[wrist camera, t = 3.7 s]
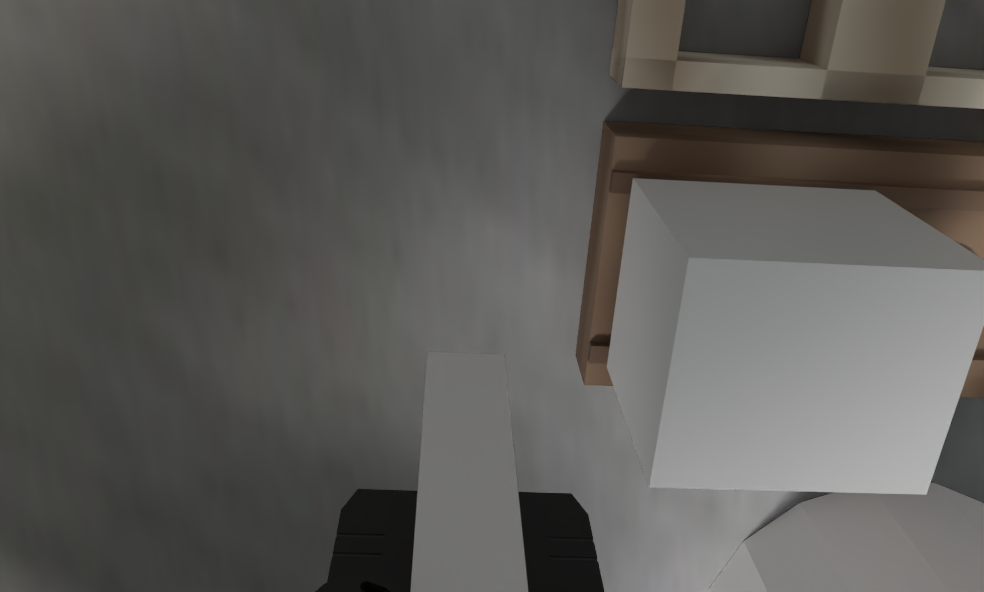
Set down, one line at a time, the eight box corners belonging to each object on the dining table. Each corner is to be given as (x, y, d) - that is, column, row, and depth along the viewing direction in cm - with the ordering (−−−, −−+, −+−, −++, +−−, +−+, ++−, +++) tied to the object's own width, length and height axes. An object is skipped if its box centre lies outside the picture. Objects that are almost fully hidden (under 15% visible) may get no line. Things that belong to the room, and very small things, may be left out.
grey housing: (606, 366, 26) (649, 487, 20) (632, 177, 23) (688, 257, 18) (827, 374, 26) (926, 494, 21) (875, 190, 24) (1002, 271, 18)
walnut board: (575, 355, 29) (585, 389, 26) (603, 120, 25) (617, 138, 23) (996, 370, 30) (1038, 404, 28) (1075, 147, 26) (1130, 166, 24)
